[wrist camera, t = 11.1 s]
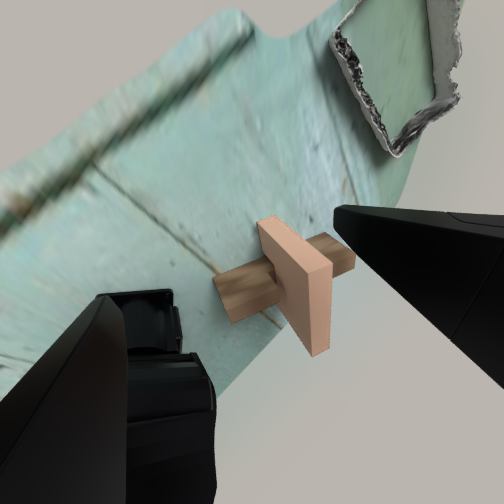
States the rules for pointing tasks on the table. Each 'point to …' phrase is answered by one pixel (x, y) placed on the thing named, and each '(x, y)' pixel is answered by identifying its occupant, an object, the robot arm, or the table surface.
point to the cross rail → (271, 279)
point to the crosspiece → (300, 283)
